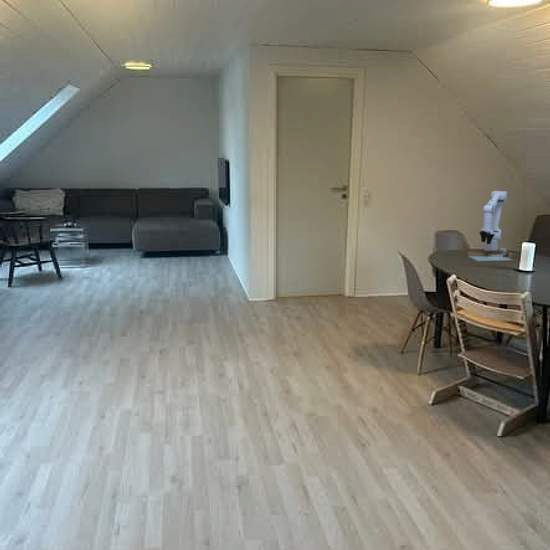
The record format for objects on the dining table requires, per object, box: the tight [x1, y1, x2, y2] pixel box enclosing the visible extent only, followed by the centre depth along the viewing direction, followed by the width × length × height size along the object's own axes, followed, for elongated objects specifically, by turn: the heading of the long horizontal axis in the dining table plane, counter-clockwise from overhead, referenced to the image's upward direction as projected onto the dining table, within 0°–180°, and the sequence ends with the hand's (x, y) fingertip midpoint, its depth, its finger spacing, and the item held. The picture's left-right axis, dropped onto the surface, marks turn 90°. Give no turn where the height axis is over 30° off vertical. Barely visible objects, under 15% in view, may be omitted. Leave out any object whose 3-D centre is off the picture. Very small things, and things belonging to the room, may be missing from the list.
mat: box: [467, 256, 513, 262], centre depth 379 cm, size 16×26×1 cm, turn 96°
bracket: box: [488, 247, 507, 258], centre depth 380 cm, size 10×5×6 cm, turn 96°
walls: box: [467, 249, 517, 261], centre depth 378 cm, size 16×26×4 cm, turn 96°
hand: (486, 242), depth 379 cm, fingers open, 7 cm apart
